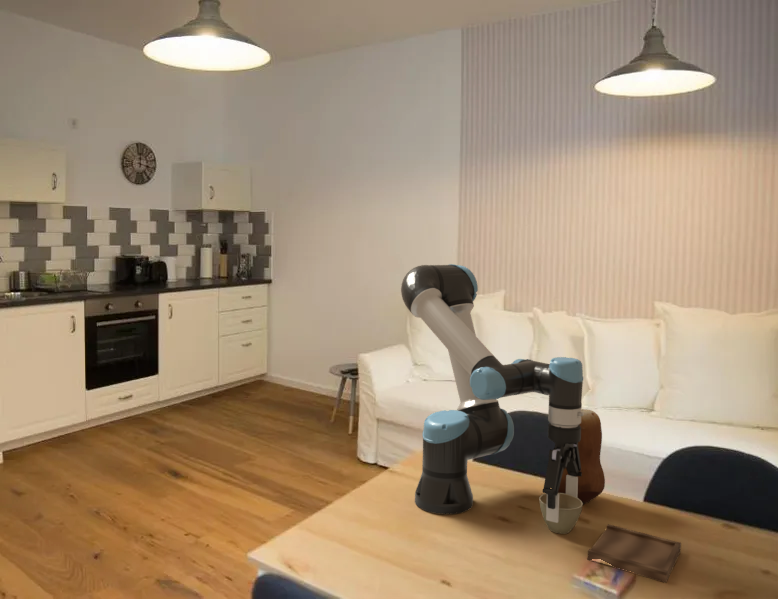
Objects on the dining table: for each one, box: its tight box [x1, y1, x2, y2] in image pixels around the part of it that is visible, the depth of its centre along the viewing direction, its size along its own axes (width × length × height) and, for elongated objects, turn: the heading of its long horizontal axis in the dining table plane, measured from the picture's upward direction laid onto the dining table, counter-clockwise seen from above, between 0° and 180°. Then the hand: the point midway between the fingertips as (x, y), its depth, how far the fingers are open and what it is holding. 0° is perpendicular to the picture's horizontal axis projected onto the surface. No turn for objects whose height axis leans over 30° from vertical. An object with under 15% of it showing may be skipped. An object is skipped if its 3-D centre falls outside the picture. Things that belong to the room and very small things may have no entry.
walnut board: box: [586, 523, 682, 584], centre depth 142 cm, size 16×16×2 cm
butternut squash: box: [558, 408, 606, 505], centre depth 170 cm, size 14×13×25 cm
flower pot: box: [538, 493, 584, 535], centre depth 154 cm, size 10×10×7 cm
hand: (562, 511), depth 154 cm, fingers open, 13 cm apart
